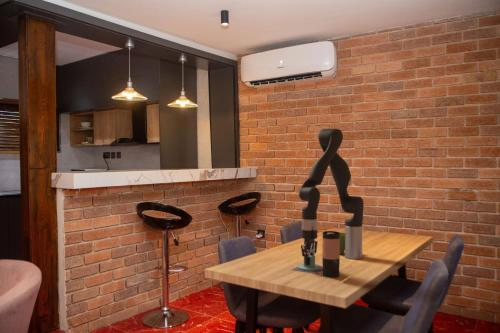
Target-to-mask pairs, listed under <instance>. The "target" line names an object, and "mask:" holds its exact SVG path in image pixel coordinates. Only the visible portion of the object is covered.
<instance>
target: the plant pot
mask: <svg viewBox="0 0 500 333" xmlns="http://www.w3.org/2000/svg"><path fill="white" fill-rule="evenodd" d="M338 232H339V239H340V255H345V232H341V231H338Z"/></svg>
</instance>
